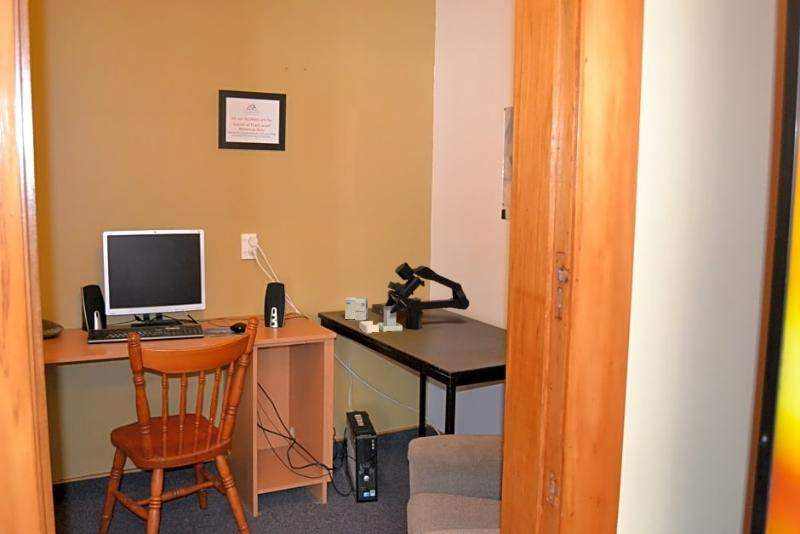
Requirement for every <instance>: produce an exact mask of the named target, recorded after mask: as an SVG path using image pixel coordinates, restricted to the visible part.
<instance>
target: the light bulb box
mask: <svg viewBox="0 0 800 534" xmlns="http://www.w3.org/2000/svg"><path fill="white" fill-rule="evenodd" d="M344 301H345V302H344V320H345V319H355V320H354V321H364V320H366V319H367V320H368V318H369V317H368V315H369V308H368V307H369V305H368V304H369V303H368V302H369V299H368V297H361V296H360V297H352V296H347V297H346V298H345V299H344ZM367 320H366V321H367Z"/></svg>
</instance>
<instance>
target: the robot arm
mask: <svg viewBox="0 0 800 534" xmlns="http://www.w3.org/2000/svg"><path fill="white" fill-rule="evenodd" d="M394 272H395V274H397V276H398V277H399V278H400V279H401V280H403V281H406V282H405V283H400V282H398V281H396V282H393V281H392V280H391V281H389V283H388V285H387V288H388V289H389V290H388V292H387V301H386V302H385V303H386V304H385V306H394V307H393V308H392V309H391V311H390V313H391V314H392V313H395V312H397V311H399V310H402V309H404V310H405V311H406V314H408V315H407V318H406V319H405V327H404V328H405V329H410V330H420V329H422V328H423V325H422V316H423V314H424V310H435V309H436V310H437V309H456V310H463V311H465V310H467V309H468V308H469V307H470V300H469V299H468V298H467V296H466V293H465V292H464V291H465V290H463V288H462V284H461V283H460V282H457V281H453V280H451V279H449V278H447V277H444V276H442V275H440V274H438V273H437V272H436V271H434V270H433V269H432V268H430V267H429V266H425V265H419V266H417V267H416V268H412V267H411V266H410V265H409V263H408V262H406V261H405V262H403V263H402V264H400V265H397V267H396V269H395V270H394ZM415 275H416V276H415ZM422 279H423V280H422ZM425 280H428V281H432V282H436V283H437V284H440V285H442V286H445V287H447V288H449V289H451V295H452V296H451V297H450V298H448V299H435V300H433V299H432V300H422V299H421V298H419V297H416V296H415V297H410V296H411V295H412V296H413V295H414V294H415V291H416V290H417V289H418V288H419V287H420V286H421V287H424V288H425V286H426V284H425V282H426V281H425ZM383 309H384V308H383Z"/></svg>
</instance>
